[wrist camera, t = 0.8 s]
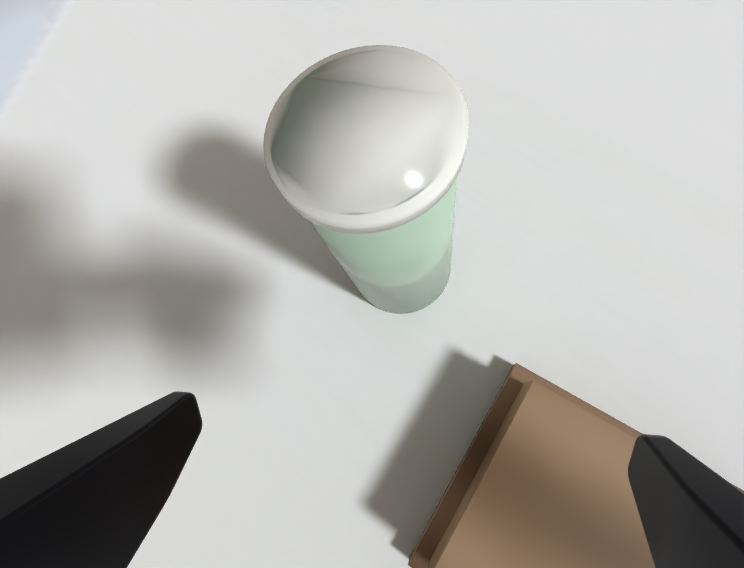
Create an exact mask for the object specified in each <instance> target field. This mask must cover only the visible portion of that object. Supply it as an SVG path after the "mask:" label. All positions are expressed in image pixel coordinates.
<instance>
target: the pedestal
mask: <svg viewBox="0 0 744 568" xmlns="http://www.w3.org/2000/svg"><path fill="white" fill-rule="evenodd" d="M641 434H642V433H640V432H638V431H636V430H635V429H633V428H631V427H629V426H627V425H626V424H624V423H622V422H620V421H619V420H617V419H615V418H613V417H611V416H610V415H608V414H606V413H604V412H603V411H601V410H599V409H597V408H595V407H594V406H592V405H590V404H588V403H586V402H585V401H583V400H581V399H579V398H578V397H576V396H574V395H572V394H570V393H569V392H567V391H565V390H563V389H562V388H560V387H558V386H556V385H554V384H553V383H551V382H549V381H547V380H546V379H544V378H542V377H540V376H538V375H537V374H535V373H533V372H531V371H529V370H528V369H526V368H524V367H522V366H521V365H519V364H517V363H516V364H514V365H513V367H512V369H511V371H510V373H509V374H508V376H507V378H506V380H505V382H504V384H503V386H502V387H501V389H500V391H499V393H498V395H497V397H496V399H495V400H494V402H493V404H492V406H491V408H490V410H489V412H488V413H487V415H486V417H485V419H484V421H483V423H482V425H481V426H480V428H479V430H478V432H477V434H476V436H475V438H474V439H473V441H472V443H471V445H470V447H469V449H468V451H467V452H466V454H465V456H464V458H463V460H462V462H461V464H460V465H459V467H458V469H457V471H456V473H455V475H454V477H453V478H452V480H451V482H450V484H449V486H448V488H447V490H446V491H445V493H444V495H443V497H442V499H441V501H440V503H439V504H438V506H437V508H436V510H435V512H434V514H433V516H432V517H431V519H430V521H429V523H428V525H427V527H426V529H425V530H424V532H423V534H422V536H421V538H420V540H419V542H418V543H417V545H416V547H415V549H414V551H413V553H412V555H411V556H410V558H409V563H408V565H409V566H410V567H412V568H655V565H654V562H653V558H652V555H651V552H650V549H649V546H648V542H647V539H646V535H645V532H644V529H643V525H642V522H641V519H640V515H639V512H638V509H637V505H636V502H635V499H634V495H633V492H632V489H631V485H630V482H629V478H628V465H629V461H630V458H631V455H632V451H633V448H634V444H635V441H636V439H637V437H638V436H639V435H641ZM730 484H731V483H730ZM732 485H733V484H732ZM733 486H734V485H733ZM735 487H736V486H735ZM736 488H737V489H739V490H740V491H741V492H743V493H744V491H743V490H741V489H740V488H738V487H736Z"/></svg>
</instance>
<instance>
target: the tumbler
mask: <svg viewBox="0 0 744 568" xmlns="http://www.w3.org/2000/svg"><path fill="white" fill-rule="evenodd" d="M467 135H468V110H467V105H466V101H465V98H464V95H463V93H462V91H461V89H460V87H459V85H458V83H457V82H456V81H455V79H454V78H453V76H452V75H451V74H450V73H449V72H448V71H447V70H446V69H445V68H444V67H443V66H441V65H440V64H439V63H438V62H436V61H435V60H433V59H431V58H430V57H428V56H426V55H424V54H421V53H419V52H417V51H414V50H410V49H407V48H403V47H396V46H387V45H374V46H363V47H357V48H352V49H349V50H345V51H341V52H339V53H336V54H333V55H331V56H329V57H327V58H325V59H323V60H321V61H319V62H317V63H315V64H314V65H312V66H311V67H309V68H308V69H306V70H305V71H304V72H302V73H301V74H300V75H299V76H298V77H297V78H295V79H294V80H293V81H292V82H291V83H290V84H289V85H288V87H287V88H286V89H285V90H284V91H283V93H282V94H281V96H280V97H279V99H278V100H277V102H276V103H275V105H274V107H273V109H272V111H271V113H270V116H269V118H268V121H267V124H266V129H265V134H264V157H265V162H266V166H267V169H268V171H269V174H270V176H271V178H272V180H273V182H274V183H275V185H276V186H277V188H278V189H279V191H280V192H281V193H282V195H283V196H284V197H285V199H286V200H287V201H288V202H289V204H290V205H291V206H292V207H293V208H294V209H295V210H296V211H297V212H298V213H299V214H300V215H302V216H303V217H304V218H306V219H307V220H309V221H310V222H311V224H312V225H313V227H314V228H315V229H316V231H317V232H318V234H319V235H320V236H321V238H322V239H323V241H324V242H325V243H326V245H327V246H328V248H329V249H330V251H331V252H332V253H333V255H334V256H335V258H336V259H337V260H338V262H339V263H340V265H341V266H342V267H343V269H344V270H345V272H346V273H347V274H348V276H349V277H350V279H351V280H352V281H353V283H354V284H355V286H356V287H357V289H358V290H359V291H360V293H361V294H362V295H363V297H364V298H365V299H366V300H367V301H368V302H369V303H370V304H372V305H373V306H375V307H376V308H378V309H380V310H383V311H386V312H390V313H397V314H403V313H411V312H415V311H418V310H421V309H423V308H425V307H427V306H428V305H430V304H431V303H432V302H434V301H435V300H436V299H437V298H438V297H439V296H440V295H441V293H442V292H443V290H444V289H445V287H446V285H447V283H448V280H449V276H450V270H451V256H452V242H453V228H454V214H455V200H456V186H457V176H458V174H459V172H460V170H461V167H462V164H463V161H464V157H465V152H466V146H467Z"/></svg>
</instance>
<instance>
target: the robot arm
mask: <svg viewBox="0 0 744 568" xmlns="http://www.w3.org/2000/svg"><path fill="white" fill-rule="evenodd" d="M201 429H202V418H201V415H200V411H199V408H198V404H197V400H196V397H195V396H194V395H193V394H192V393H189V392H173V393H171V394H169V395H167V396H165V397H163V398H161V399H159V400H157V401H155V402H153V403H151V404H149V405H147V406H145V407H143V408H141V409H139V410H137V411H135V412H133V413H131V414H129V415H127V416H125V417H123V418H121V419H119V420H117V421H115V422H113V423H111V424H109V425H107V426H105V427H103V428H101V429H99V430H97V431H95V432H93V433H91V434H89V435H87V436H85V437H83V438H81V439H79V440H77V441H75V442H73V443H71V444H69V445H67V446H65V447H63V448H61V449H59V450H57V451H55V452H53V453H51V454H49V455H47V456H45V457H43V458H41V459H39V460H37V461H35V462H33V463H31V464H29V465H27V466H25V467H23V468H21V469H19V470H17V471H15V472H13V473H11V474H9V475H7V476H5V477H3V478H1V479H0V568H127V566H128V565H129V563H130V561H131V560H132V558H133V556H134V555H135V553H136V551H137V550H138V548H139V546H140V545H141V543H142V541H143V540H144V538H145V537H146V535H147V533H148V532H149V530H150V528H151V527H152V525H153V523H154V522H155V520H156V518H157V517H158V515H159V513H160V512H161V510H162V508H163V506H164V505H165V503H166V501H167V499H168V498H169V496H170V494H171V492H172V490H173V488H174V486H175V484H176V482H177V480H178V478H179V476H180V474H181V472H182V470H183V467H184V465H185V463H186V461H187V459H188V457H189V455H190V453H191V451H192V449H193V447H194V445H195V443H196V441H197V439H198V437H199V434H200V432H201ZM628 478H629V482H630V485H631V489H632V492H633V495H634V499H635V502H636V505H637V509H638V512H639V515H640V519H641V522H642V525H643V529H644V532H645V535H646V539H647V542H648V546H649V549H650V552H651V555H652V558H653V562H654V565H655V568H744V493H743V492H741V491H740V490H739V489H737V488H736V487H735V486H733V485H732V484H730V483H729V482H728V481H726V480H725V479H724V478H722V477H721V476H720V475H718V474H717V473H715V472H714V471H713V470H711V469H710V468H709V467H707V466H706V465H704V464H703V463H702V462H700V461H699V460H698V459H696V458H695V457H693V456H692V455H691V454H689V453H688V452H687V451H685V450H684V449H683V448H681V447H680V446H678V445H677V444H676V443H674V442H673V441H672V440H670V439H669V438H667V437H665V436H660V435H649V434H641V435H639V436H638V437H637V439H636V441H635V444H634V448H633V451H632V455H631V458H630V461H629V465H628Z"/></svg>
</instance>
